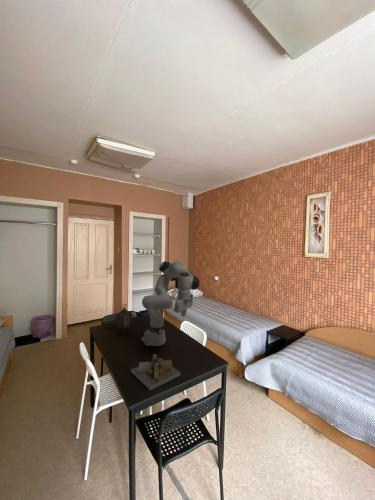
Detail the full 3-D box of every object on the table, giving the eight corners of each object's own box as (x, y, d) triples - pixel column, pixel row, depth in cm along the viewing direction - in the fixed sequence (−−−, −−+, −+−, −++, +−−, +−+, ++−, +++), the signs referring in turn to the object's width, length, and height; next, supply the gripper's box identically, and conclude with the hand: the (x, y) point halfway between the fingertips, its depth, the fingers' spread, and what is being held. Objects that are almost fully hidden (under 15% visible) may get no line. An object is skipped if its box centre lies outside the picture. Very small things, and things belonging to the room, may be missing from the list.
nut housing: (131, 372, 134) (131, 361, 134) (160, 360, 149) (160, 350, 149) (149, 390, 118) (149, 378, 118) (180, 375, 132) (180, 364, 132)
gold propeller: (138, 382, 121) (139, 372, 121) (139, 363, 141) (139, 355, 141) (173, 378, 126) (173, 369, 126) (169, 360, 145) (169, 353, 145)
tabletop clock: (123, 333, 193) (123, 306, 193) (114, 332, 196) (115, 305, 196) (132, 328, 207) (132, 302, 207) (124, 327, 210) (124, 301, 210)
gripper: (180, 299, 141) (179, 320, 141) (194, 294, 159) (193, 312, 159) (172, 298, 144) (171, 319, 144) (186, 293, 162) (186, 311, 162)
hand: (183, 315), depth 152 cm, fingers closed
